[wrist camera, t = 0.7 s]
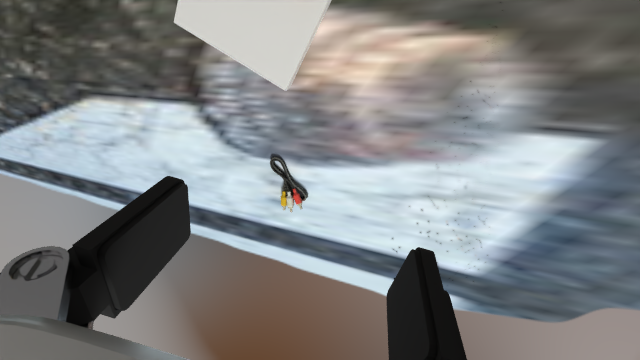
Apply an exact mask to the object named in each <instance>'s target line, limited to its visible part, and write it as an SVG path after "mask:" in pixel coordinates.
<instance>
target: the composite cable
mask: <svg viewBox="0 0 640 360" xmlns="http://www.w3.org/2000/svg"><path fill="white" fill-rule="evenodd" d="M274 161H279V162H280V163H281V165H282V166H283V169H284V171H285V174H286V175H285V174H284V173H283V172H282V171H281V170H280V169H279V168H278V167H277V166H276V165H275V163H274ZM270 165H271V168H272V169H273V171H274V172H275V173H277V174H278V175H280V176H281V177H282V178H283V179H284V180H285V183H284V187H283V191H282V196H281V205H282V207H283V210H285V207H286V206H288V208H290V212H292V208H293V206H294V200H295V202H296V204H297V205H299V206H300V209H302V206H301V205H302V201H305V200H306V198H307V197H308V194H307V192H306V191H305V190H304V189H303V188H302V187H301V186H299V185H298V184H297V183H296V182H295V181H294V180H293V179H292V178H291V176H290V174H289V171H288V169H287V167H286V165H285V163H284V161H283V160H282V159H281V158H279V157H273V158H272V159H271V161H270ZM294 187H296V188H297V189H299V190H300V191H301V192H302V193H303V195H304V197H301V196H300V194H299V193H298V192H297V190H296V188H294ZM286 192H287V195H286Z"/></svg>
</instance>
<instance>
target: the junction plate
mask: <svg viewBox="0 0 640 360" xmlns="http://www.w3.org/2000/svg"><path fill="white" fill-rule="evenodd" d="M330 2H331V0H178V4H177V9H176V14H175V19H174V23H176V24H177V25H179V26H180V27H182V28H184V29H185V30H187V31H189V32H190V33H192V34H193V35H195V36H197V37H198V38H200V39H202V40H203V41H205V42H207V43H208V44H210V45H211V46H213V47H215V48H216V49H218V50H220V51H221V52H223V53H224V54H226V55H228V56H229V57H231V58H233V59H234V60H236V61H237V62H239V63H241V64H242V65H244V66H246V67H247V68H249V69H251V70H252V71H254V72H255V73H257V74H259V75H260V76H262V77H264V78H265V79H267V80H268V81H270V82H272V83H273V84H275V85H277V86H278V87H280V88H281V89H283V90H285V91H286V90H288V89H289V88H290V87H291V84H292V82H293V80H294V78H295V76H296V74H297V72H298V70H299V68H300V66H301V63H302V61H303V59H304V57H305V55H306V53H307V51H308V49H309V47H310V44H311V42H312V40H313V38H314V36H315V34H316V32H317V30H318V28H319V26H320V23H321V21H322V19H323V17H324V15H325V13H326V11H327V9H328V7H329V4H330Z"/></svg>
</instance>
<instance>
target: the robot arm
mask: <svg viewBox="0 0 640 360" xmlns="http://www.w3.org/2000/svg"><path fill="white" fill-rule="evenodd" d="M190 232H191V230H190V216H189V201H188V187H187V185H186V184H185V183H184V181H183V180H182V179H178V178H175V177H171V176H167V177H165V178H163V179H162V180H161V181H159V182H158V183H157V184H155V185H154V186H153V187H151V188H150V189H148V190H147V191H146V192H144V193H143V194H142V195H140V196H139V197H137V198H136V199H135V200H133V201H132V202H131V203H129V204H128V205H127V206H125V207H124V208H122V209H121V210H120V211H118V212H117V213H116V214H114V215H113V216H111V217H110V218H109V219H107V220H106V221H105V222H103V223H102V224H101V225H99V226H98V227H96V228H95V229H94V230H92V231H91V232H90V233H88V234H87V235H86V236H84V237H83V238H81V239H80V240H79V241H77V242H76V243H75V244H73V247H72V248H70V249H69V250H68V251H67V250H66V249H63V248H61V247H55V246H49V247H41V248H37V249H33V250H30V251H28V252H25V253H23V254H21V255H19V256H17V257H16V258H14V259H13V260H11V261H10V262H9V263H8V264H7V265H6V266H5V267H4V269H3V270H2V272H1V273H0V360H190V359H187V358H184V357H180V356H177V355H174V354H170V353H167V352H164V351H161V350H158V349H154V348H151V347H148V346H145V345H142V344H139V343H135V342H132V341H129V340H125V339H122V338H119V337H116V336H113V335H109V334H105V333H102V332H99V331H95V330H93V323H94V320H95V319H96V318H97V317H98V316H99V315H100V314H102V315H105V316H108V317H111V318H116V316H117V315H118V314H119V313H120V312H121V311H124V310H126V309H128V308H129V307H130V305H132V303H133V302H134V301H135V300H136V299H137V298H138V296H139V295H140V294H141V293H142V292H143V291H144V290H145V288H146V287H147V286H148V285H149V284H150V283H151V281H152V280H153V279H154V278H155V277H156V276H157V275H158V273H159V272H160V271H161V270H162V269H163V268H164V266H165V265H166V264H167V263H168V262H169V261H170V260H171V259H172V257H173V256H174V255H175V254H176V253H177V252H178V250H179V249H180V248H181V247H182V246H183V245H184V244H185V242H186V241H187V240H188V238H189V236H190ZM387 322H388V346H389V347H388V348H389V360H467V359H466V355H465V351H464V347H463V343H462V340H461V336H460V332H459V329H458V325H457V321H456V318H455V314H454V310H453V306H452V303H451V299H450V296H449V294H448V292H447V291H445V290H444V289H443V285H442V281H441V278H440V274H439V270H438V266H437V262H436V258H435V254H434V252H433V251H430V250H427V249H423V248H420V247H418V248H416V250H413V249H412V250H411V251H410V253H409V254H408V256H407V258H406V260H405V262H404V263H403V265H402V267H401V269H400V271H399V272H398V274H397V276H396V278H395V279H394V281H393V283H392V285H391V287H390V288H389V290H388V293H387Z"/></svg>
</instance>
